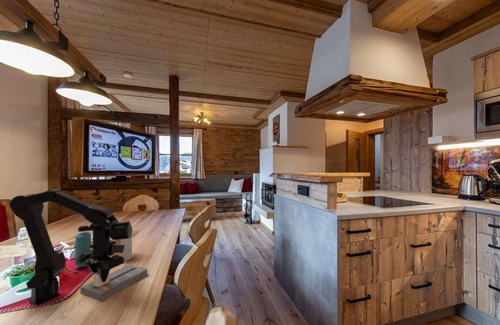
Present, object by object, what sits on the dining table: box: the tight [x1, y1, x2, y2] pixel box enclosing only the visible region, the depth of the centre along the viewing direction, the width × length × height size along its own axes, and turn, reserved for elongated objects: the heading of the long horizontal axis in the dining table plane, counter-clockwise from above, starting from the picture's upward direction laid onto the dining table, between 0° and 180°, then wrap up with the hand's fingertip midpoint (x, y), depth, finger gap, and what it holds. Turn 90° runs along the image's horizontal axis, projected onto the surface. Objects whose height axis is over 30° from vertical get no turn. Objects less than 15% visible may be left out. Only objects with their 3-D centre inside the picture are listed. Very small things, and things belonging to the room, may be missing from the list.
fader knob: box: [92, 272, 109, 287], centre depth 81 cm, size 4×3×6 cm
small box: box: [111, 234, 133, 262], centre depth 111 cm, size 8×6×13 cm
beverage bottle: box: [74, 225, 92, 268], centre depth 101 cm, size 6×7×20 cm
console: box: [80, 264, 148, 302], centre depth 87 cm, size 20×12×3 cm, turn 157°
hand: (101, 280), depth 81 cm, fingers closed on fader knob, 3 cm apart
